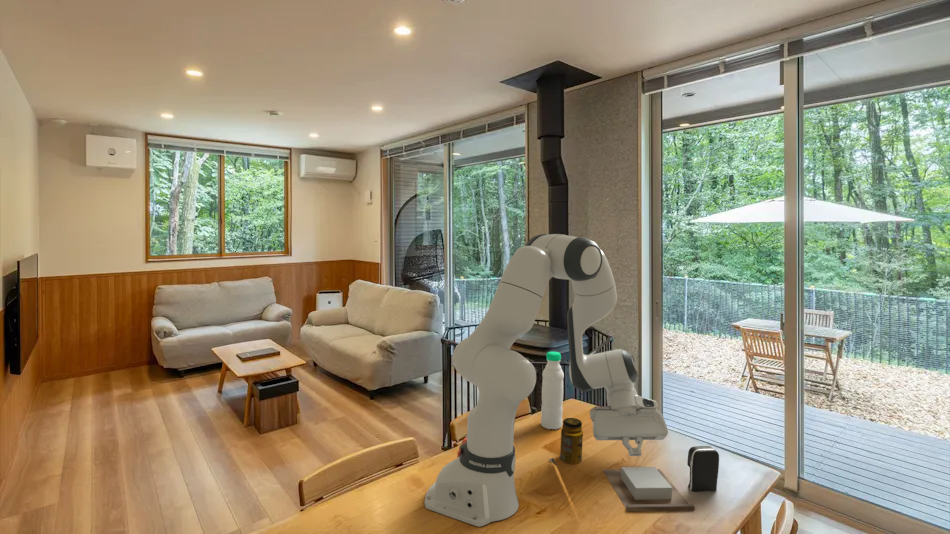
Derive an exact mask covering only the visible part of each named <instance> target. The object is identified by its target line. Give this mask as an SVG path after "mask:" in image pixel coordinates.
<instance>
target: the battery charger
mask: <svg viewBox="0 0 950 534" xmlns="http://www.w3.org/2000/svg"><path fill="white" fill-rule="evenodd" d="M719 465H720V455H719V452H718V451H717V450H716V449H714V448H713V447H712V446H709V445H700V446H691V447H690V448H689V449H688V453H687V466H688V467H689V483H688V488H689V490H690V491H691V492H692V493H700V492H703V493H705V492H717V490H718V488H717V487H718V477H719V469H720V468H719V467H720V466H719Z"/></svg>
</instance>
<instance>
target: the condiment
mask: <svg viewBox="0 0 950 534" xmlns="http://www.w3.org/2000/svg"><path fill="white" fill-rule="evenodd" d="M582 423H583V421H581V420H580V419H579V418H575V417H567V418H564V419H562V427H561V430H560V431H561V432H560V449H559V450H560V452H559V453H560V455H559V457H560V460H561V461H562V462H564V463H566V464H570V465H576V464H580V463H582V460H583V456H582V455H583V436H584V434H583V433H584V432H583V430H582V429H583V428H582V427H583V426H582V425H583V424H582ZM548 461H550V462H551V463H552V464H554V465H555V466H557V463H556V461H555V458H554V457H552V458H549V459H548Z"/></svg>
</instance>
